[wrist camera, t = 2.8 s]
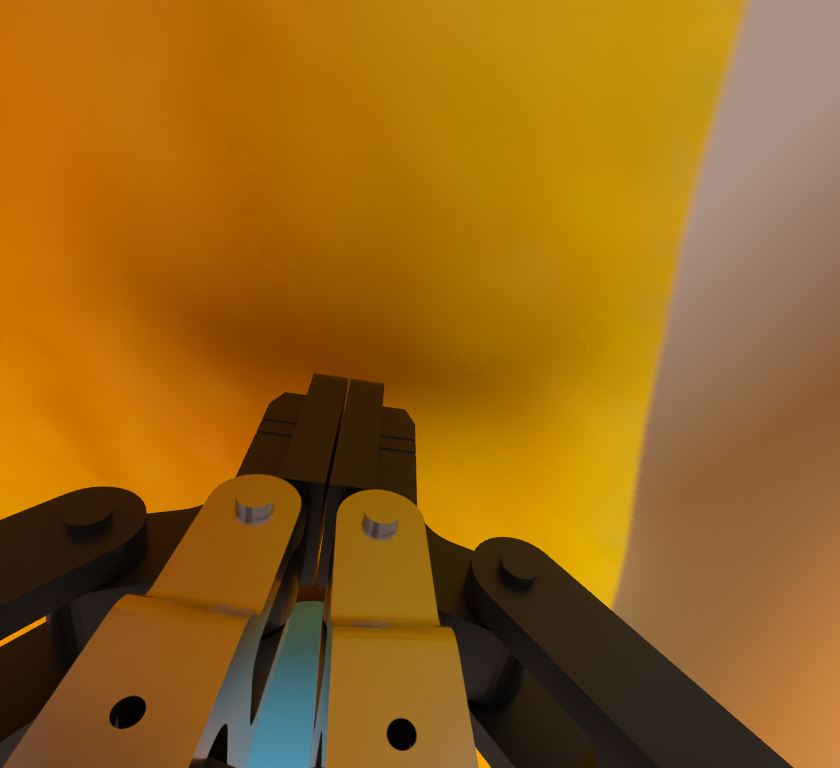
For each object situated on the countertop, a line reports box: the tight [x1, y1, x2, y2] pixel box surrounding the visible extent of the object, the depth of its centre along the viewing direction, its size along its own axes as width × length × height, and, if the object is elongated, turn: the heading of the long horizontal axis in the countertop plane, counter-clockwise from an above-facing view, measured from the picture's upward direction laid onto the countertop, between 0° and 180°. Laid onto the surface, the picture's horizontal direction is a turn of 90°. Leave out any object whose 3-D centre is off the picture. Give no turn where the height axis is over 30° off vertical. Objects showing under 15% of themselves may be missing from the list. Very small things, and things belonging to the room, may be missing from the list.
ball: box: [247, 601, 324, 768], centre depth 15 cm, size 6×6×6 cm
